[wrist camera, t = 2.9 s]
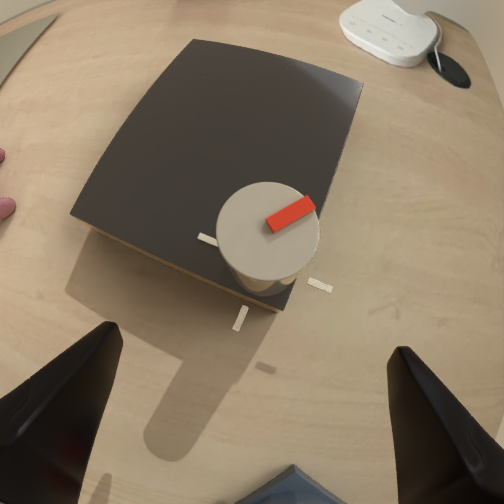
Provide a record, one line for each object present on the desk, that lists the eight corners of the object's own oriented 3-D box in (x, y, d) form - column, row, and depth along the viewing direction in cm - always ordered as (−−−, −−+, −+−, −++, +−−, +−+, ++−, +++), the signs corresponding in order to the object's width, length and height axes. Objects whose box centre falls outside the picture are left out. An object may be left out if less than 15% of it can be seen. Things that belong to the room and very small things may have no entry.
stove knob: (252, 309, 15) (249, 301, 9) (218, 252, 16) (195, 209, 10) (310, 273, 16) (342, 243, 10) (274, 218, 17) (284, 161, 10)
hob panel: (294, 350, 19) (304, 358, 15) (85, 253, 21) (55, 238, 16) (372, 121, 23) (387, 92, 19) (199, 68, 25) (192, 37, 21)
